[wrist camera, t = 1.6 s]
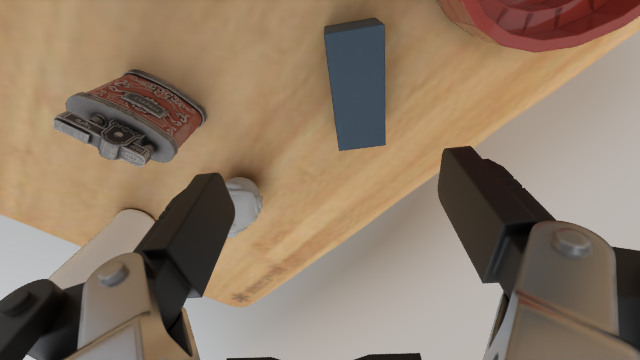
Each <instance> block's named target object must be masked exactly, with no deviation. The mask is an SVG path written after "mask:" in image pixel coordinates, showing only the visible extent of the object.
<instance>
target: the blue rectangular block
mask: <svg viewBox="0 0 640 360" xmlns="http://www.w3.org/2000/svg"><path fill="white" fill-rule="evenodd" d="M324 39H325V47H326V54H327V62H328V70H329V78H330V85H331V93H332V101H333V109H334V116H335V124H336V132H337V140H338V147H339V151H342V150H351V149H359V148H367V147H375V146H383V145H386V144H385V28H384V24H383V23H382V22H381V21H379V20H378V19H376V18H371V19H365V20H360V21H354V22H348V23H343V24H337V25H331V26H325V28H324Z"/></svg>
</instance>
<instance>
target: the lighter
mask: <svg viewBox="0 0 640 360" xmlns="http://www.w3.org/2000/svg"><path fill="white" fill-rule="evenodd" d="M66 109H67V111H66V112H64V113H62V114H60V115H58V116H55V117H54V118H53V127H54V128H55V129H56V130H58V131H60V132H62V133H64V134H67V135H69V136H71V137H73V138H75V139H77V140H80V141H82V142H84V143H86V144H90V145H92V146H94V147H96V148H98V150H99V154H100V155H101V156H102V157H104V158H106V159H109V160H117V159H121V160H125V161H127V162H129V163H131V164H133V165H135V166H138V167H143V166H144V165H145V164H146V163H147V162H148V161H149V160H150V159H151V160H154V161H157V162H162V163H164V162H168V161H170V160H172V158H173V157H174V156H175V155H176V154H177V152H178V148H179V147H180V146H181V145H182V144H183V143H184V142H185V141H186V140H187V139H188V137H189V136H190V135H191V134H192V133H193V132H194V131H195V130H196V129H197V128H199V127H201V126H202V125H203V124H204V122H205V121H206V118H207V115H206V111H205V109H204V108H203V107H202V106H201V105H200V104H198V103H197V102H196V101H195V100H193V99H192V98H191V97H190V96H188V95H187V94H185V93H184V92H182V91H181V90H179V89H178V88H176V87H175V86H173V85H171V84H169V83H167V82H165V81H163V80H161V79H159V78H157V77H155V76H153V75H150V74H148V73H145V72H143V71H140V70H136V69H134V70H130V71H128V72H126V73H124V74H123V75H122V77H120V78H118V79H116V80H113V81H111V82H109V83H107V84H105V85H102V86H100V87H98V88H96V89H93V90H91V91H89V92H87V93H85V92H81V93H77V94H75V95H73V96H71V97H69V98H68V99H67V101H66Z"/></svg>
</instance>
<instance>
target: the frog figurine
mask: <svg viewBox="0 0 640 360" xmlns="http://www.w3.org/2000/svg"><path fill="white" fill-rule="evenodd" d="M225 185H226V187H227V189H228V191H229V194H230V196H231V198H232V201H233V203H234V206H235V219H234V222H233V224H232V227H231V229H230V231H229V234H228V236H227V237H229V238H232V237H235V236H237V235H238V233H239V232H241V231H243V230H244V229H246V228H247V226H249V225H250V224H251V223H252V222H254V221H255V220H256V218H257V217H258V214H259V213H260V212H261V209H262V207H263V204H262V199H263V197H262V196H261V195H260V191H259V189H258V187H257V186H256V184H255V183H254V182H252V181H251V180H249V179H247V178H243V177H235V178H231V179H229V180H227V181H226V182H225Z"/></svg>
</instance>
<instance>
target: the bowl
mask: <svg viewBox="0 0 640 360" xmlns="http://www.w3.org/2000/svg"><path fill="white" fill-rule="evenodd" d="M438 2H439V4H440V5H441V7H442V9H443V10H444V12H445V14H446V15H447V17H448V18H449V20H451V21H452V22H454V23H455V24H456V25H458V26H459V27H461V28H462V29H464V30H465V31H466V32H468V33H469V34H471V35H473V36H475V37H478V38H481V39H484V40H487V41H490V42H492V43H495V44H498V45H501V46H505V47H510V48H515V49H520V50H525V51H530V52H544V51H550V50H557V49H564V48H570V47H576V46H579V45H582V44H584V43H586V42H589V41H591V40H593V39H596V38H598V37H601V36H603V35H605V34H608V33H610V32H612V31H615V30H617V29H619V28H622V27H623V26H625V25H627V24H628V23H630V22H631V21H633V20H634V19H636V18H637V17H639V16H640V0H438Z"/></svg>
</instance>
